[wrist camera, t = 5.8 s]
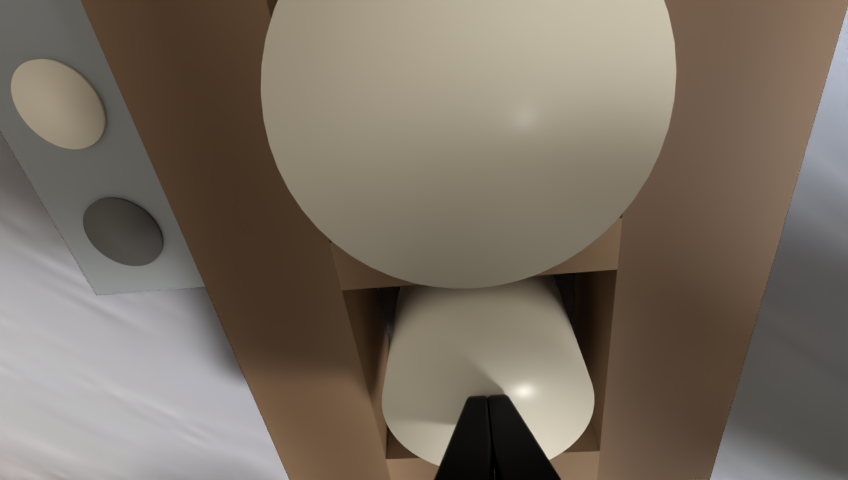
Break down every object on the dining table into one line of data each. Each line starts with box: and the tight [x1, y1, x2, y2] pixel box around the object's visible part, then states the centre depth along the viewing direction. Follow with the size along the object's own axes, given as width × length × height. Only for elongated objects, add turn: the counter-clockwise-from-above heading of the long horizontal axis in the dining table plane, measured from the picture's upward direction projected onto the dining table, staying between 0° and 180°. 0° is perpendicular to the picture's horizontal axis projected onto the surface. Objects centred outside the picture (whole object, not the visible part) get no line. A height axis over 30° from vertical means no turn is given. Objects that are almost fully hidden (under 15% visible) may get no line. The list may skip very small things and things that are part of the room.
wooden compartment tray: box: [81, 0, 848, 480], centre depth 8 cm, size 11×21×3 cm, turn 7°
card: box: [0, 0, 205, 296], centre depth 10 cm, size 4×10×1 cm, turn 7°
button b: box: [261, 0, 676, 289], centre depth 6 cm, size 4×4×3 cm
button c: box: [382, 274, 594, 466], centre depth 11 cm, size 4×4×3 cm
